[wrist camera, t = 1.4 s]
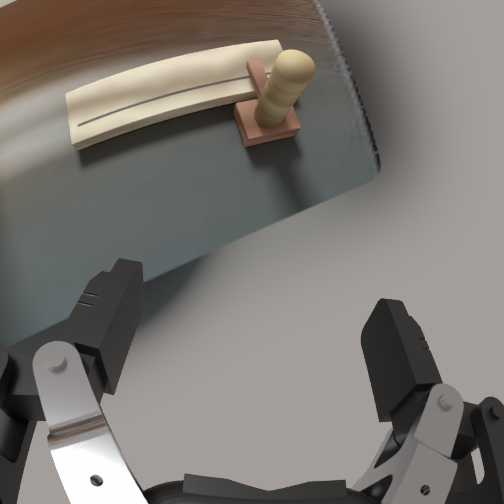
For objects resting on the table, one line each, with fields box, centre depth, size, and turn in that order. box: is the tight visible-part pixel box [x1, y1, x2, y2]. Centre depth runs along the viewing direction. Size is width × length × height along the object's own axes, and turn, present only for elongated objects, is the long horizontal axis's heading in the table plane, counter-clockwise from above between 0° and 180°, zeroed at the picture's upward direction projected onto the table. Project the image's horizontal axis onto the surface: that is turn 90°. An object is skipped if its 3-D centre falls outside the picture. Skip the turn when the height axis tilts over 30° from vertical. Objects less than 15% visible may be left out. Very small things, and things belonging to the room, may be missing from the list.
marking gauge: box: [233, 50, 315, 147], centre depth 28 cm, size 8×6×12 cm
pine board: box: [66, 40, 283, 150], centre depth 32 cm, size 7×26×2 cm, turn 108°
